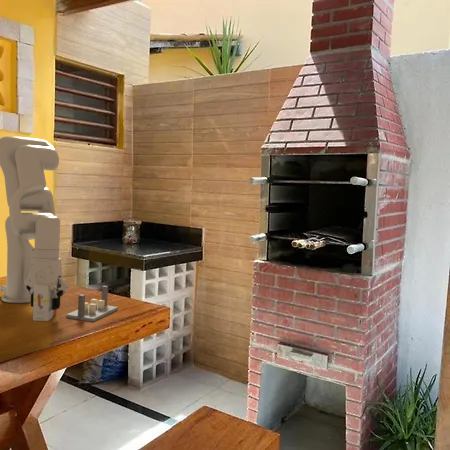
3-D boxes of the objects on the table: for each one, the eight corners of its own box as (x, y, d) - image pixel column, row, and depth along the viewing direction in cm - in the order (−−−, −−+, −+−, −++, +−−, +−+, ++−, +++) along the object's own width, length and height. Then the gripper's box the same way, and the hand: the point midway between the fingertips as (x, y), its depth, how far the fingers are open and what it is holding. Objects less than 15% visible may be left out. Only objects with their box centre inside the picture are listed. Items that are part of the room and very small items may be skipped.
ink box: (42, 313, 155) (43, 278, 154) (57, 314, 155) (58, 279, 154) (31, 320, 146) (32, 284, 145) (47, 321, 146) (48, 285, 145)
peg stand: (66, 317, 152) (67, 293, 151) (92, 305, 167) (93, 284, 166) (93, 321, 149) (94, 297, 148) (117, 309, 165) (118, 287, 164)
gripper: (15, 252, 147) (14, 306, 149) (63, 258, 143) (61, 314, 144) (31, 249, 155) (30, 301, 156) (77, 255, 150) (75, 308, 152)
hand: (45, 307), depth 150 cm, fingers open, 7 cm apart
